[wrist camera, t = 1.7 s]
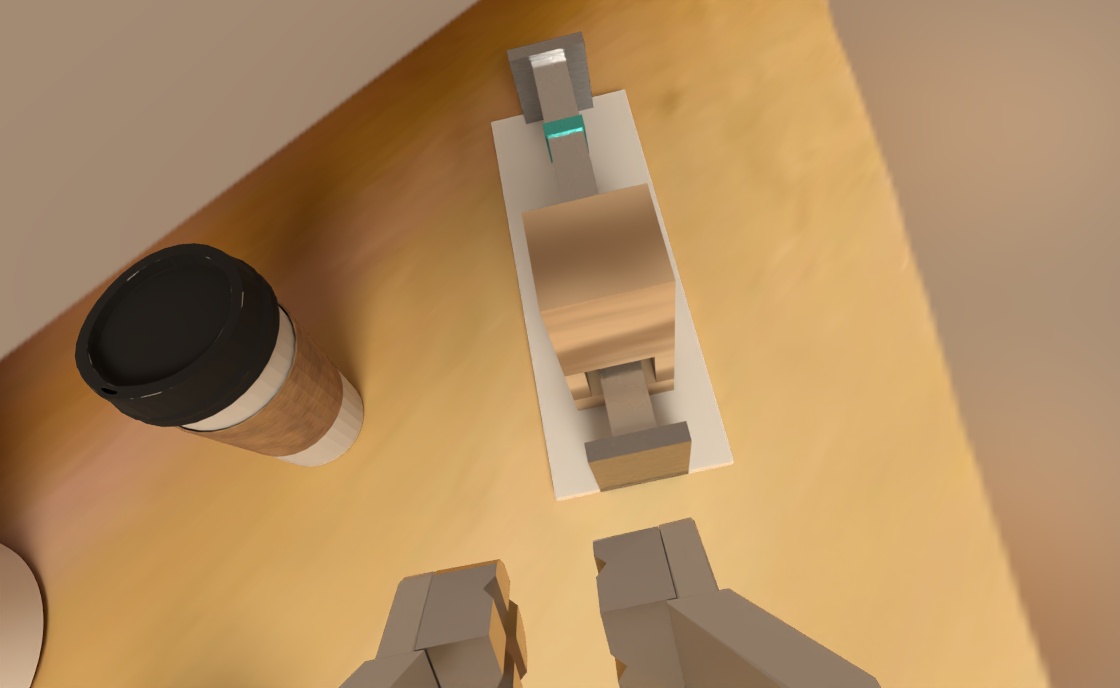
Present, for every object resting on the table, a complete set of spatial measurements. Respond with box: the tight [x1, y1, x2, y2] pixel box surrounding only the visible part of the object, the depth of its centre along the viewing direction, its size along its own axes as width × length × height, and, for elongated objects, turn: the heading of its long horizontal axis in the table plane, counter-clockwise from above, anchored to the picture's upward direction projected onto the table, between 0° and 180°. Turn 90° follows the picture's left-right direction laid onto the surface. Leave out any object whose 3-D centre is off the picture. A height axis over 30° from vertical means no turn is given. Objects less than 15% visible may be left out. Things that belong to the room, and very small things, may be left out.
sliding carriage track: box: [507, 32, 692, 492], centre depth 41 cm, size 28×5×7 cm, turn 10°
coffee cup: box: [75, 243, 364, 467], centre depth 36 cm, size 8×8×15 cm
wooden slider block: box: [521, 183, 676, 411], centre depth 34 cm, size 5×6×13 cm
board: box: [491, 89, 734, 501], centre depth 43 cm, size 28×10×1 cm, turn 10°
